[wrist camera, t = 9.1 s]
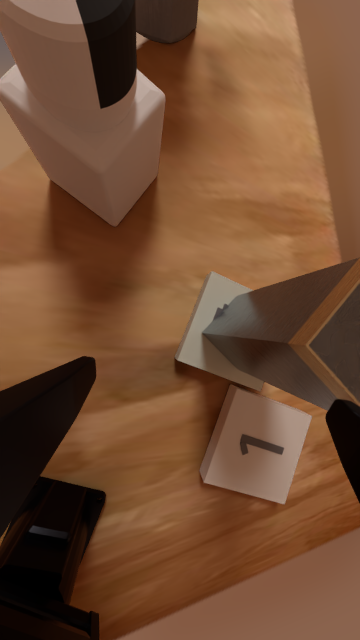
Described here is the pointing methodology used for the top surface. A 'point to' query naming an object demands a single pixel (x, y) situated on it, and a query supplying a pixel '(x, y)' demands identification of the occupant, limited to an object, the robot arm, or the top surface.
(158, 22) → the coffeepot
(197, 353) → the tile
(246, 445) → the tile
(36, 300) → the top surface
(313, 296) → the tea tin
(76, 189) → the medicine bottle
